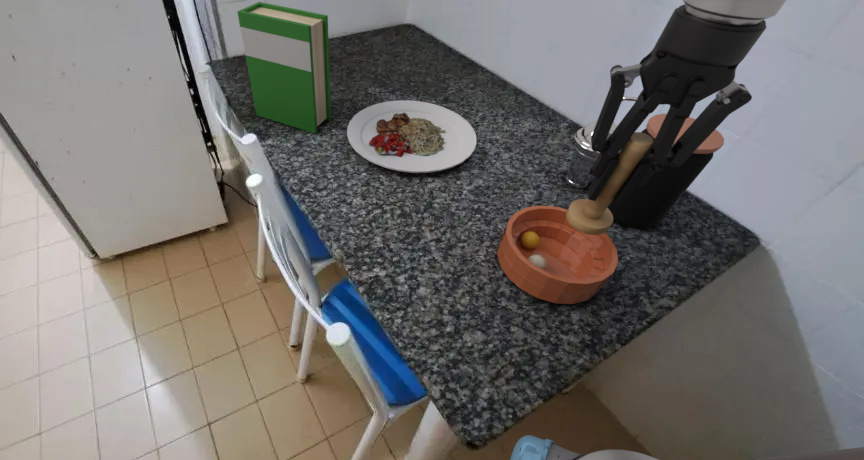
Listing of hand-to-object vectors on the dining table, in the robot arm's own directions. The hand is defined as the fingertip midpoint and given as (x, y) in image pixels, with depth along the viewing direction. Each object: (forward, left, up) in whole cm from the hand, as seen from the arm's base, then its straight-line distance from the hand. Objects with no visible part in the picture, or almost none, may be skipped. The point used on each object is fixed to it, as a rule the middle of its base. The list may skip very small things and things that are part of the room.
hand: (604, 197), depth 54 cm
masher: (+1, 0, -6) cm, 6 cm away
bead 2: (-2, +4, -14) cm, 15 cm away
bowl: (0, +2, -16) cm, 16 cm away
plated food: (+28, +34, -16) cm, 47 cm away
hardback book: (+26, +64, -16) cm, 71 cm away
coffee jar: (+20, -12, -16) cm, 29 cm away
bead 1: (+3, +5, -14) cm, 15 cm away
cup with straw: (+26, -3, -16) cm, 31 cm away
